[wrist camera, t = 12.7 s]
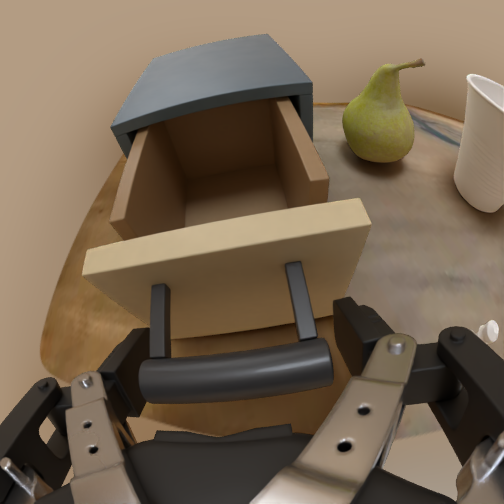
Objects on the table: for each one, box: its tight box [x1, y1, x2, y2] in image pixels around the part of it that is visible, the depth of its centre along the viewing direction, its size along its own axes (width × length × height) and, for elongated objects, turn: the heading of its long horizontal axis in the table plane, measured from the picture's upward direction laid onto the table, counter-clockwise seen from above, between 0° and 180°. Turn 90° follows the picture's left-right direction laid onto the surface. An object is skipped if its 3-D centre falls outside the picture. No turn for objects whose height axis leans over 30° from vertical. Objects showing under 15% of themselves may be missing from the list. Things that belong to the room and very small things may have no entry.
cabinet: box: [111, 34, 313, 159], centre depth 21 cm, size 15×12×11 cm
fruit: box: [342, 59, 425, 163], centre depth 19 cm, size 7×8×12 cm
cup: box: [454, 74, 504, 213], centre depth 15 cm, size 10×10×11 cm
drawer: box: [82, 96, 372, 404], centre depth 15 cm, size 18×10×9 cm, turn 7°
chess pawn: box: [469, 320, 499, 345], centre depth 12 cm, size 3×2×4 cm
